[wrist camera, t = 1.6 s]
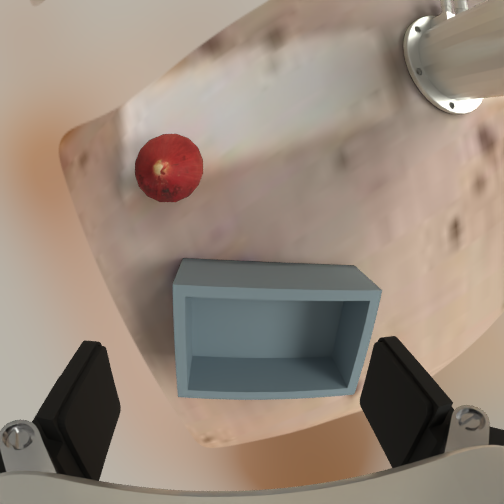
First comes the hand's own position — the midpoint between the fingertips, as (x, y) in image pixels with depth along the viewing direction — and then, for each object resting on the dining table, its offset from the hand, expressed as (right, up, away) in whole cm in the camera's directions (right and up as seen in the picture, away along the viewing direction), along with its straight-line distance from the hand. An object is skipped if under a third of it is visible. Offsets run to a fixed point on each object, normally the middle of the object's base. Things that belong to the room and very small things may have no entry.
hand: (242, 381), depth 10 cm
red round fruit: (-7, +12, +19) cm, 24 cm away
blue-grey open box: (+2, -2, +24) cm, 25 cm away
